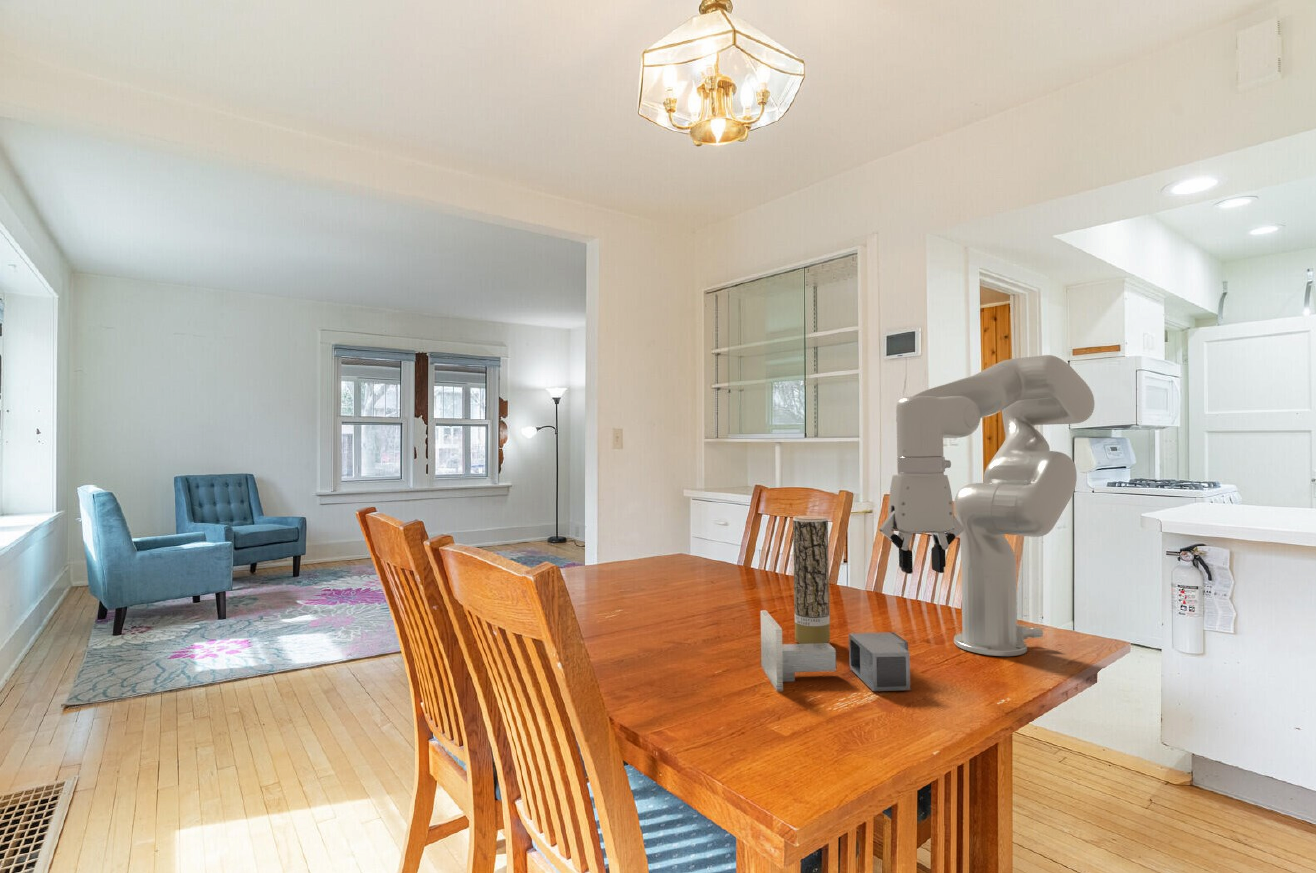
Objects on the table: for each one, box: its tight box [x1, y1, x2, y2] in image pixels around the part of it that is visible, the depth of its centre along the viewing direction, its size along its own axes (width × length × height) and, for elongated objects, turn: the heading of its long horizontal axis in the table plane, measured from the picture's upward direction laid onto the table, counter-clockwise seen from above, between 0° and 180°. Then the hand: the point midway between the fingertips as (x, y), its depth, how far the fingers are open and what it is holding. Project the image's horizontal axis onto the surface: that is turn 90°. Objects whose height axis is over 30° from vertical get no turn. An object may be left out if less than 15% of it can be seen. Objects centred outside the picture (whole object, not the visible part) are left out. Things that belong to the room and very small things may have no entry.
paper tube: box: [792, 515, 831, 644], centre depth 131 cm, size 7×7×25 cm
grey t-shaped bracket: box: [760, 609, 838, 692], centre depth 112 cm, size 11×12×10 cm
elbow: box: [848, 631, 911, 692], centre depth 110 cm, size 8×11×6 cm
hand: (922, 570), depth 114 cm, fingers open, 4 cm apart
